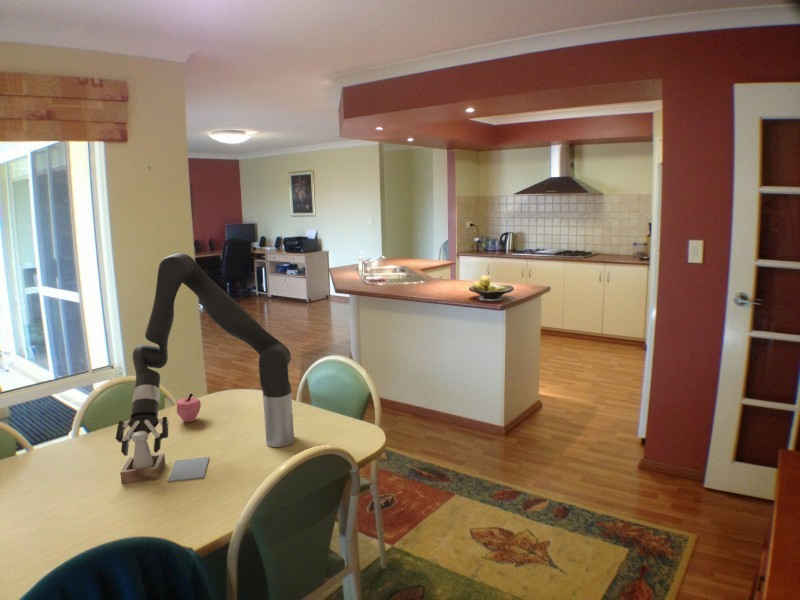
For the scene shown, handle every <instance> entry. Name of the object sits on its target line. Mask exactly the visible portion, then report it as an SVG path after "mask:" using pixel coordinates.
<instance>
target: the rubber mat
mask: <svg viewBox="0 0 800 600" xmlns="http://www.w3.org/2000/svg"><path fill="white" fill-rule="evenodd" d="M209 461H210V456H206V457H196V458H195V457H194V458H187V459H178V460H175V461H174V465H173V467H172V468H171V472H170V473H169V475H168V478H167V483H174V482H182V481H189V480H190V481H191V480H198V479H204V478H205V475H206V472H207V468H208V466H209V465H208V464H209Z"/></svg>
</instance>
